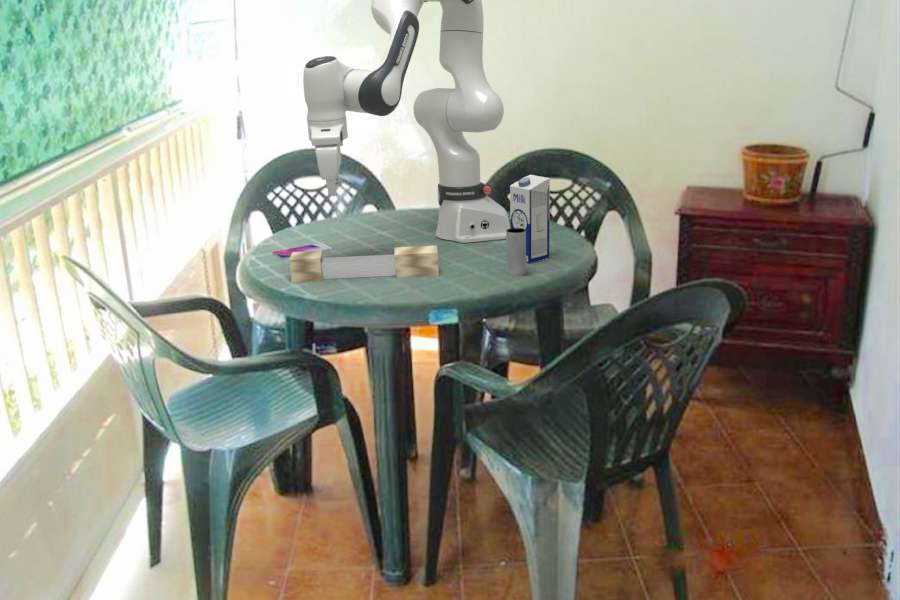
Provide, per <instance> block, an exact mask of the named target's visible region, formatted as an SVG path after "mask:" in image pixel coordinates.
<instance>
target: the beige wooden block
mask: <svg viewBox="0 0 900 600" xmlns="http://www.w3.org/2000/svg"><path fill="white" fill-rule="evenodd" d="M321 258H324V252H322V251H307V252H292V255H291V257H290V258H289V259H288V260H289V262H288V263H289V272H290V281H291V283H307V282H311V283H312V282H322V281H323V279H322V271H321Z"/></svg>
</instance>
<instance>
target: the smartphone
mask: <svg viewBox="0 0 900 600" xmlns="http://www.w3.org/2000/svg"><path fill="white" fill-rule="evenodd" d="M335 249H336V248H335V247H334V246H332V245H329V244H327V242H320V243H313V244H309V245H303V246H297V247H291V248H286V249H280V250H274V251H272V255H273V256H274V255H275V257H276V256H277V257H276V258H278V257H279V258H278V259H280V260H288V259H287V258H289V259H290V257H291V255H292V252H307V251H322V252H323V253H325V252H330V251H334V250H335Z"/></svg>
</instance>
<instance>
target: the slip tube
mask: <svg viewBox="0 0 900 600" xmlns="http://www.w3.org/2000/svg"><path fill="white" fill-rule="evenodd" d="M321 271H322V280H333V279H350V278H351V279H352V278H353V279H356V278H357V279H358V278H373V277H375V278H376V277H392V276H393V277H394V276H395V277H396V273H395V255H394V254H377V255H358V256H354V255H353V256H352V255H351V256H336V257H335V256H332V257H331V256H330V257H323V258H321Z"/></svg>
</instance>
